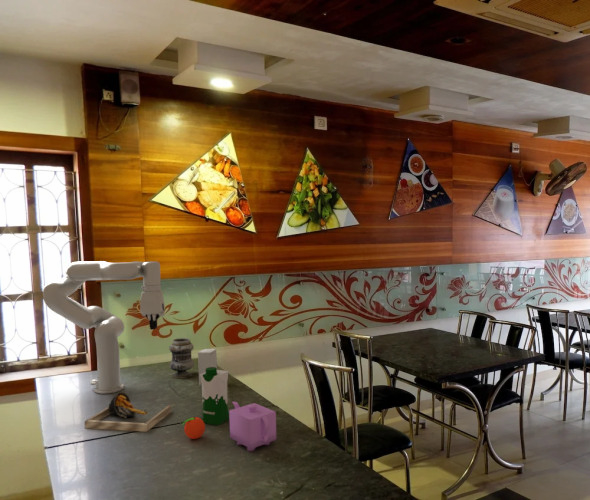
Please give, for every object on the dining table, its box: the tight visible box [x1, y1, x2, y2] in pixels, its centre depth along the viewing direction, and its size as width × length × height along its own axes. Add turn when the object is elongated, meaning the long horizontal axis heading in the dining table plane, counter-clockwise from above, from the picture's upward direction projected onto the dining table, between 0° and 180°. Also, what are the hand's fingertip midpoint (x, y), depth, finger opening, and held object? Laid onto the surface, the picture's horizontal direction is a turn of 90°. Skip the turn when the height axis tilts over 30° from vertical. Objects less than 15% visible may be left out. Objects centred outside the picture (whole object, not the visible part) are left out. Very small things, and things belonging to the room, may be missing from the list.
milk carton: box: [200, 367, 230, 426], centre depth 176 cm, size 9×9×20 cm
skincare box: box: [197, 348, 218, 387], centre depth 223 cm, size 8×7×16 cm
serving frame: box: [84, 404, 172, 433], centre depth 180 cm, size 24×19×2 cm
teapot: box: [228, 401, 277, 452], centre depth 157 cm, size 20×10×12 cm, turn 41°
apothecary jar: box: [168, 337, 195, 379], centre depth 237 cm, size 12×12×18 cm
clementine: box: [181, 416, 206, 440], centre depth 161 cm, size 8×7×7 cm
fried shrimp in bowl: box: [108, 391, 149, 419], centre depth 183 cm, size 9×11×18 cm
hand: (153, 328), depth 218 cm, fingers closed
